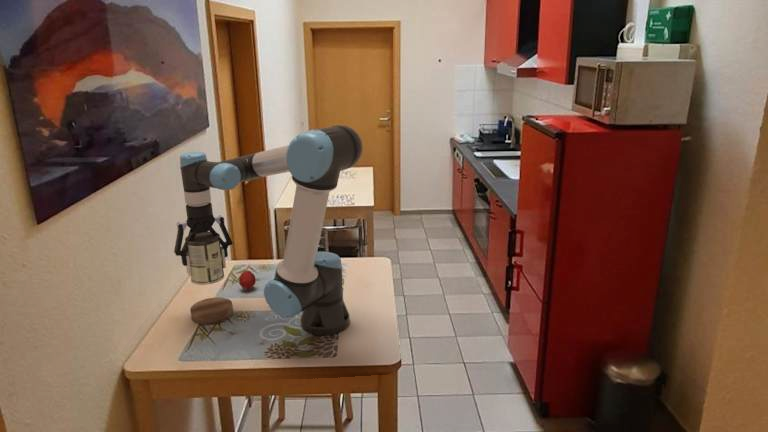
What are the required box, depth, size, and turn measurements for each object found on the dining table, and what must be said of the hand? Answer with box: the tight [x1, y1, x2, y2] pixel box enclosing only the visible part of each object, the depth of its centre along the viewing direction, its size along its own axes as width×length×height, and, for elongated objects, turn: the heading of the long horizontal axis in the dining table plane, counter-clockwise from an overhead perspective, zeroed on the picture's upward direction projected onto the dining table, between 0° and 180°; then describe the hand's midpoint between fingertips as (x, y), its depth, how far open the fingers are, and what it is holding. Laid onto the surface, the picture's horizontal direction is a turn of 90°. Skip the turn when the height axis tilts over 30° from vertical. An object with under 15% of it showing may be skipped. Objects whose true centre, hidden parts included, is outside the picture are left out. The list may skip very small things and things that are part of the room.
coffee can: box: [184, 231, 225, 286], centre depth 167 cm, size 10×10×14 cm
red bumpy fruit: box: [238, 268, 257, 291], centre depth 189 cm, size 6×6×8 cm
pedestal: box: [189, 296, 234, 325], centre depth 172 cm, size 13×13×3 cm
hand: (206, 270), depth 168 cm, fingers closed on coffee can, 10 cm apart
